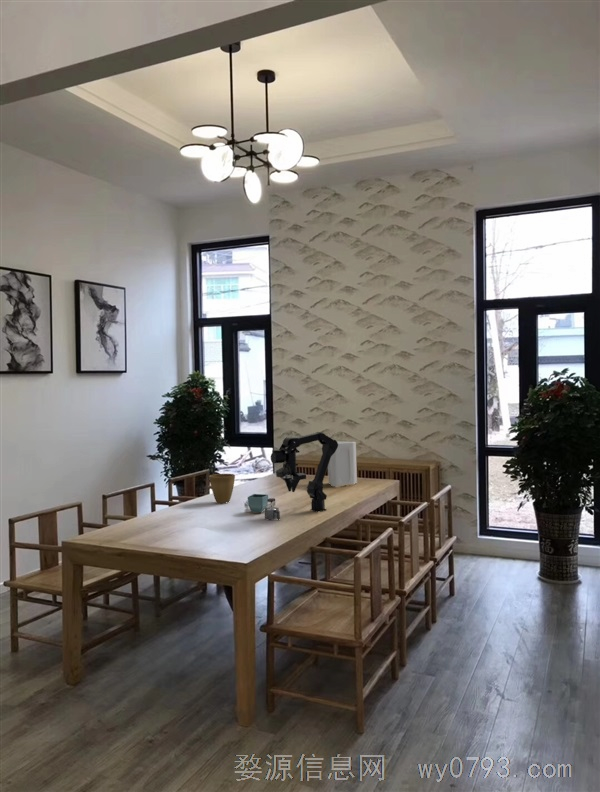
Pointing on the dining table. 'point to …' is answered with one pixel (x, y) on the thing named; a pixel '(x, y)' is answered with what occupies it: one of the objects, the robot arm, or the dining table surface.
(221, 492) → the plant pot
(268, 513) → the grey octagonal mug
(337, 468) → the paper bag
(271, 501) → the dark round piece
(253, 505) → the flower pot
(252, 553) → the dining table surface
